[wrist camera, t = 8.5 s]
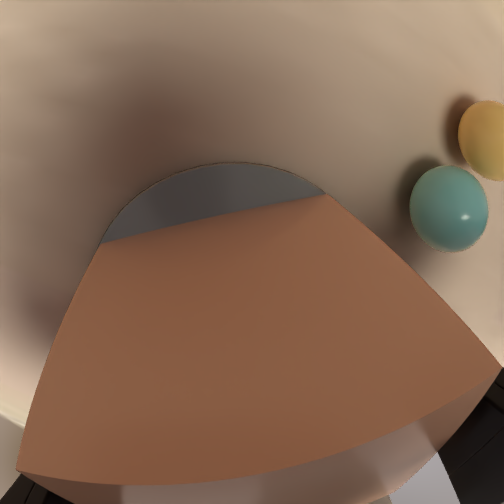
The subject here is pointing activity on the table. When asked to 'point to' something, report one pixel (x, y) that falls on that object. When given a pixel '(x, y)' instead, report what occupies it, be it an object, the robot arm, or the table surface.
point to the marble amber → (483, 139)
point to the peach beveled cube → (250, 367)
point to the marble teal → (449, 209)
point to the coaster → (207, 196)
